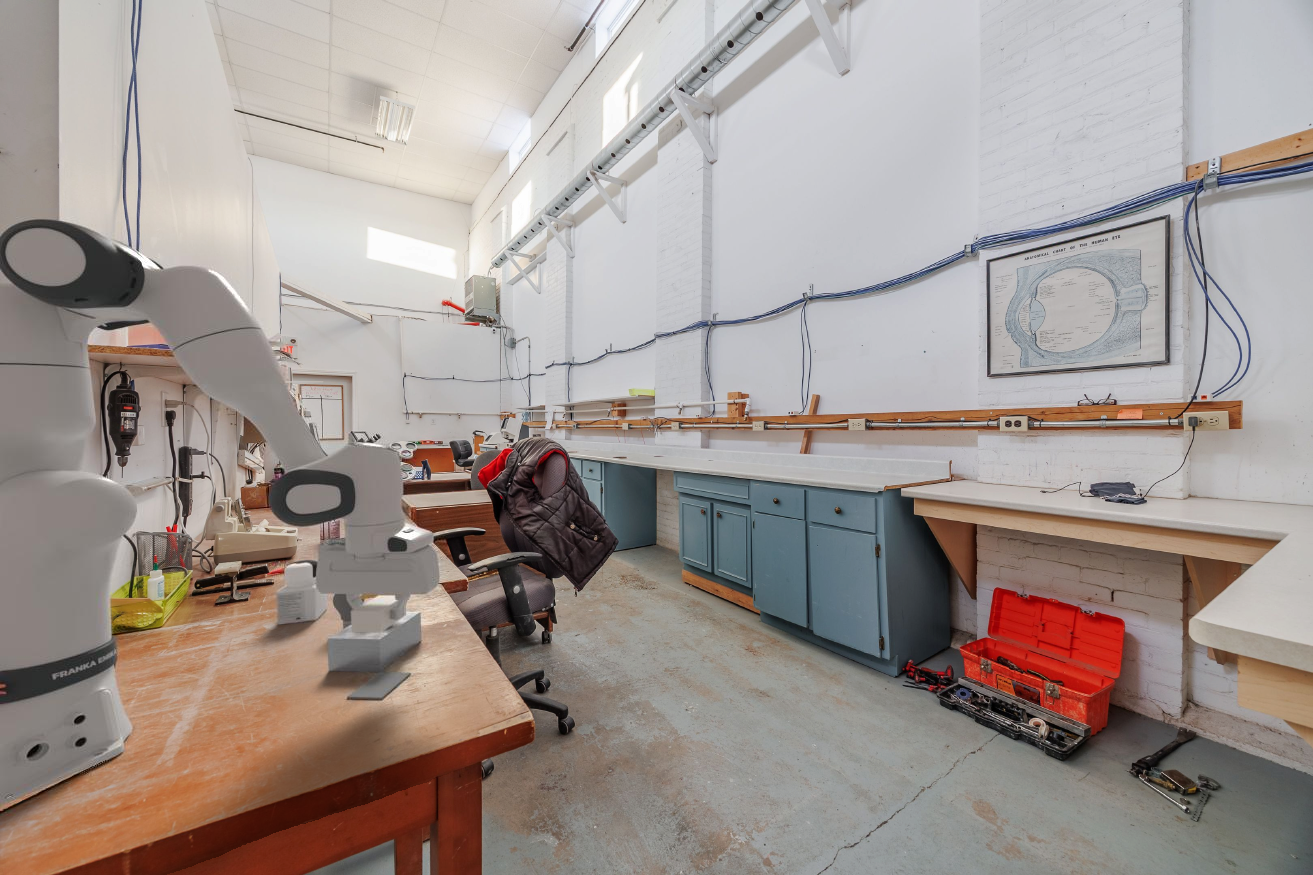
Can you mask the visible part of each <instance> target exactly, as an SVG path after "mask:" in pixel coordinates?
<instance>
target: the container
mask: <svg viewBox="0 0 1313 875" xmlns="http://www.w3.org/2000/svg"><path fill="white" fill-rule="evenodd" d="M317 562H318V560H312V559H307V560H306V559H304V560H298V561H294V562H290V563H289V564H286V565H285V567H284V569H283V570H284V572H283V574H284V586H283V587H281V588H279V589H278V590H277V591H276V593H275V595H276V597H275V598H276V620H277V621H276V623H277V625H287V624H295V623H303V622H311V621H316V620H317V619H319V617H320V616H322V614H324V613H325V612H326V611H327V610H328V594H321V593H320V592H319V591H318V590H317V588H316V570H317Z"/></svg>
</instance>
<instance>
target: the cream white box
mask: <svg viewBox="0 0 1313 875" xmlns="http://www.w3.org/2000/svg"><path fill="white" fill-rule="evenodd" d="M398 601H399V600H395V595H394V596H393V595H378V596H377V597H375V598H370V600H368V601H366V602H363V604H362V605H361V606H359V607H357V608H355V609H353V610H352V611H351V625H352V632H382V631H384V630H385V629H387V628H388V627H389V626H391V625H392V624H394V623H395V622H397V621H398V620H395V619H390V616H391V615H390V610H391V609H392V608H394V607H395V606H396V605H397V603H398ZM406 612H407V604H406V605H405V606H404V616H406Z"/></svg>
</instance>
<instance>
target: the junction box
mask: <svg viewBox="0 0 1313 875" xmlns="http://www.w3.org/2000/svg"><path fill="white" fill-rule="evenodd" d="M421 614H422V612H421V611H406V616H404V617H403V618H401V619H400V620H398V621H397V622H395V623H394V624H392V625H391V626H389V627H388V628H387V629H385V630H384V631H382V632H352V625H350V626H348V627H346V628H345V629H341V630H339V631H338V632H336V633H334V634H333V635H331V636H329V637H327V657H328V658H327V660H328V661H327V662H328V663H327V664H328V665H327V666H328V671H329V672H360V673H378V672H384V671H385V669H387V668H388V667H389V666H390V665H392V664H393V663H395V662H396V661H397V660H398V659H400V658H401V657H402V656H403V655H405V654H406V653H407V652H408V651H410V650H411V649H412V648H414V647H415V646H417V645H418V644H419V643H420V642H421V641H422V621H421V620H422V617H421Z"/></svg>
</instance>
